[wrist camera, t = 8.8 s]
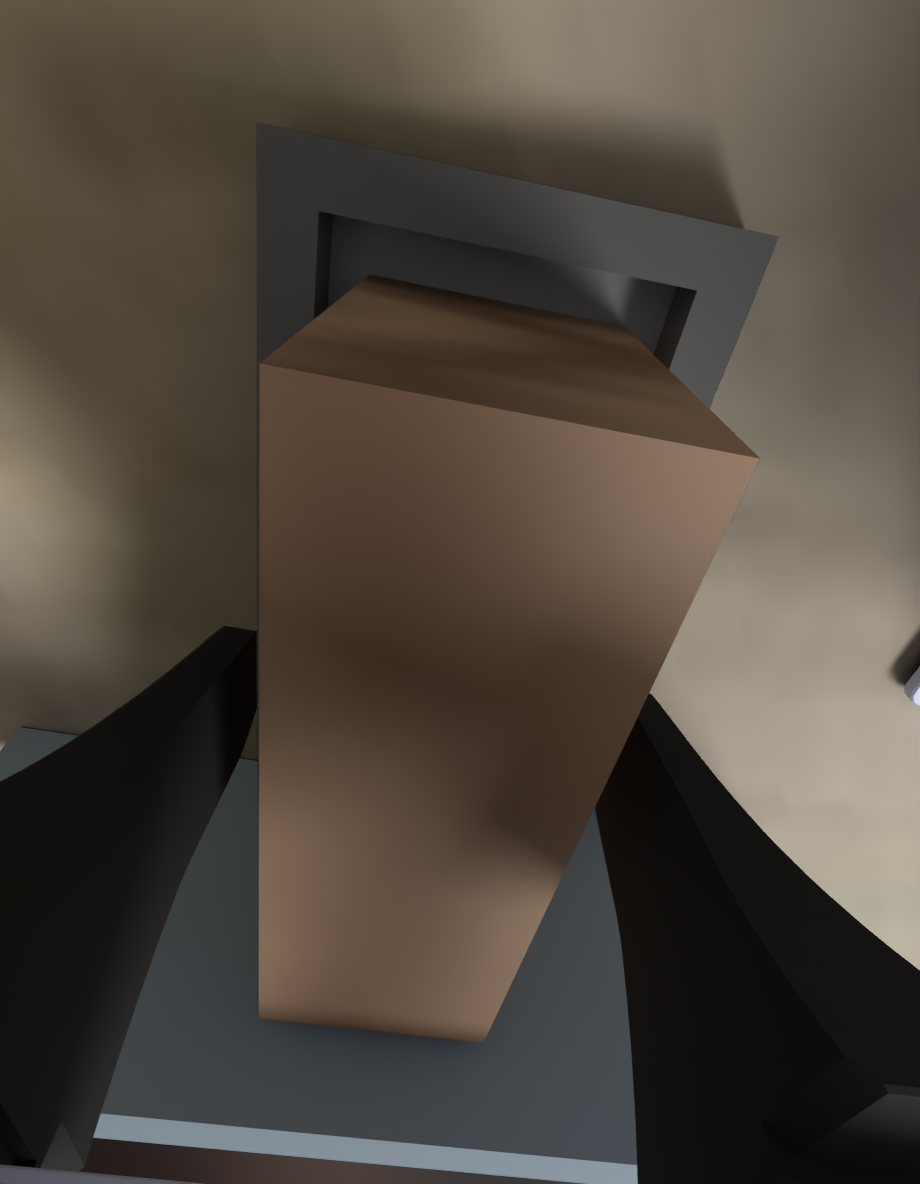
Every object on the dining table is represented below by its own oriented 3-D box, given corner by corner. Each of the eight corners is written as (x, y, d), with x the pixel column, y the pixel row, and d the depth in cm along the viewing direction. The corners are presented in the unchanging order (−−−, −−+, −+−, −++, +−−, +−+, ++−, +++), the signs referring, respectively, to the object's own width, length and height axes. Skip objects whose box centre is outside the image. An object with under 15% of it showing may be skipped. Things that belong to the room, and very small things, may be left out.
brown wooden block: (624, 325, 12) (759, 458, 6) (482, 788, 20) (483, 1042, 14) (369, 274, 12) (259, 363, 6) (325, 766, 19) (258, 1018, 13)
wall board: (1124, 314, 12) (2211, 531, 4) (734, 856, 22) (868, 1210, 14) (-192, 26, 10) (-2100, -428, 3) (30, 759, 20) (-242, 1106, 12)
